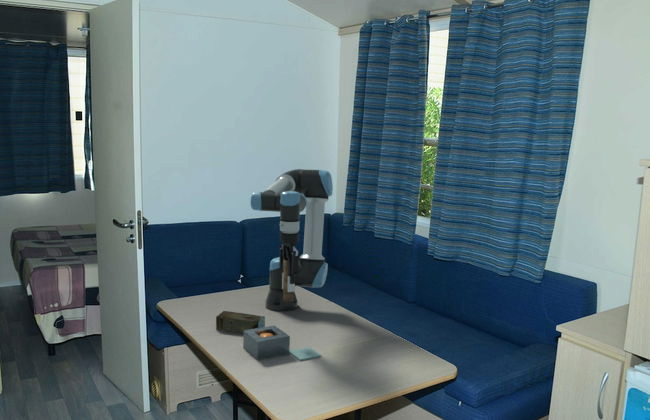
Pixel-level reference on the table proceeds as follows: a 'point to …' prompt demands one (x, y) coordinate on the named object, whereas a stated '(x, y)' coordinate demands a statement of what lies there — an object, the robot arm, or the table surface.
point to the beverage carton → (238, 321)
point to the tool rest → (304, 353)
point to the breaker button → (265, 335)
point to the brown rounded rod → (286, 284)
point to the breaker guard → (266, 342)
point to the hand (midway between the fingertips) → (288, 289)
